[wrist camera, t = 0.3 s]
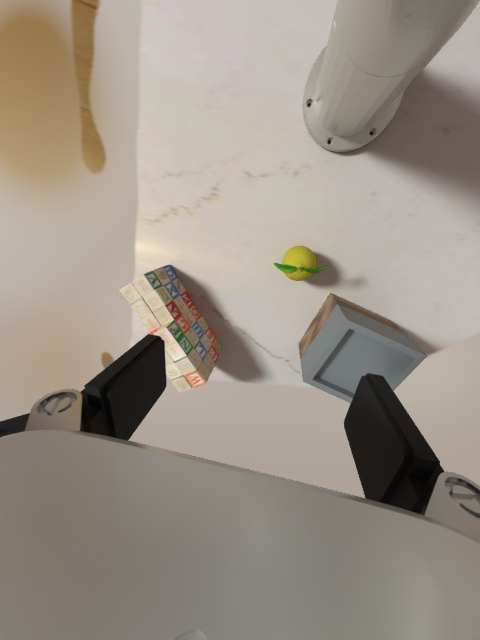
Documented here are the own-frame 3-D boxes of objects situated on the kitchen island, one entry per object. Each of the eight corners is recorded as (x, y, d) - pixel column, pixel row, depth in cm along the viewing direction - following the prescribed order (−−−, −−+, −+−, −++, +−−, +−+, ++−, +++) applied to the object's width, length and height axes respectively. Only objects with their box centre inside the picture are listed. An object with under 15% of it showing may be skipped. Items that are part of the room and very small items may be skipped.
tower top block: (336, 303, 37) (346, 319, 31) (404, 334, 37) (427, 356, 31) (300, 359, 42) (303, 381, 36) (359, 385, 42) (371, 412, 36)
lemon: (325, 258, 40) (336, 269, 30) (301, 283, 42) (305, 300, 33) (296, 233, 39) (299, 237, 30) (273, 260, 41) (270, 271, 32)
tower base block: (330, 292, 42) (336, 302, 37) (388, 319, 42) (404, 333, 37) (298, 342, 47) (300, 358, 42) (350, 366, 47) (359, 385, 42)
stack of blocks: (147, 277, 47) (105, 294, 36) (170, 263, 45) (132, 277, 34) (201, 358, 53) (178, 394, 42) (223, 349, 51) (206, 384, 40)
